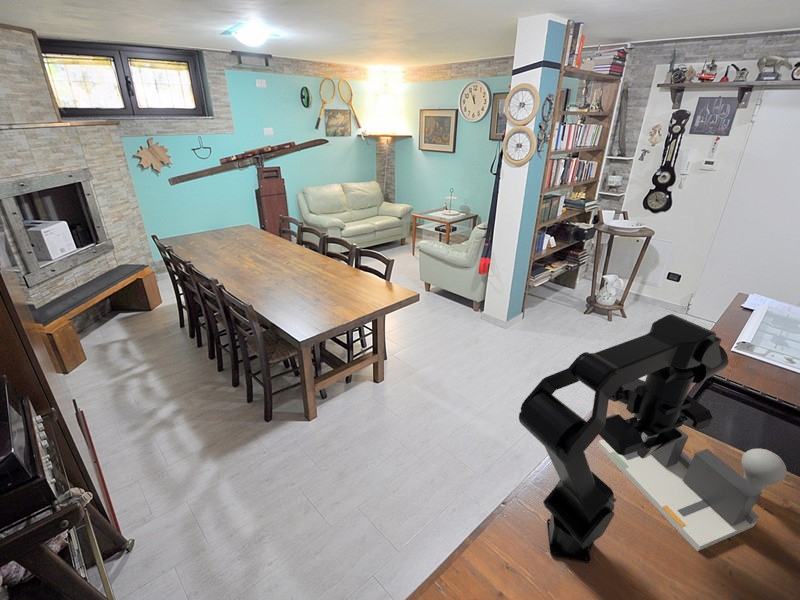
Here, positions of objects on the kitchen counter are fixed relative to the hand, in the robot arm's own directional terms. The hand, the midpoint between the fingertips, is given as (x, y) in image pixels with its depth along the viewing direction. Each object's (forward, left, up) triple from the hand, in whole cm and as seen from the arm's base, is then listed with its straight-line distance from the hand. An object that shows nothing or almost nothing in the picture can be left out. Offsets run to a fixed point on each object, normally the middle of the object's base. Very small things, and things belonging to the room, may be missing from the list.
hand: (641, 456), depth 69 cm
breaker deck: (+9, +6, -13) cm, 17 cm away
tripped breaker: (+15, +2, -11) cm, 19 cm away
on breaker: (+8, +13, -11) cm, 19 cm away
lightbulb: (+23, +6, -13) cm, 27 cm away
